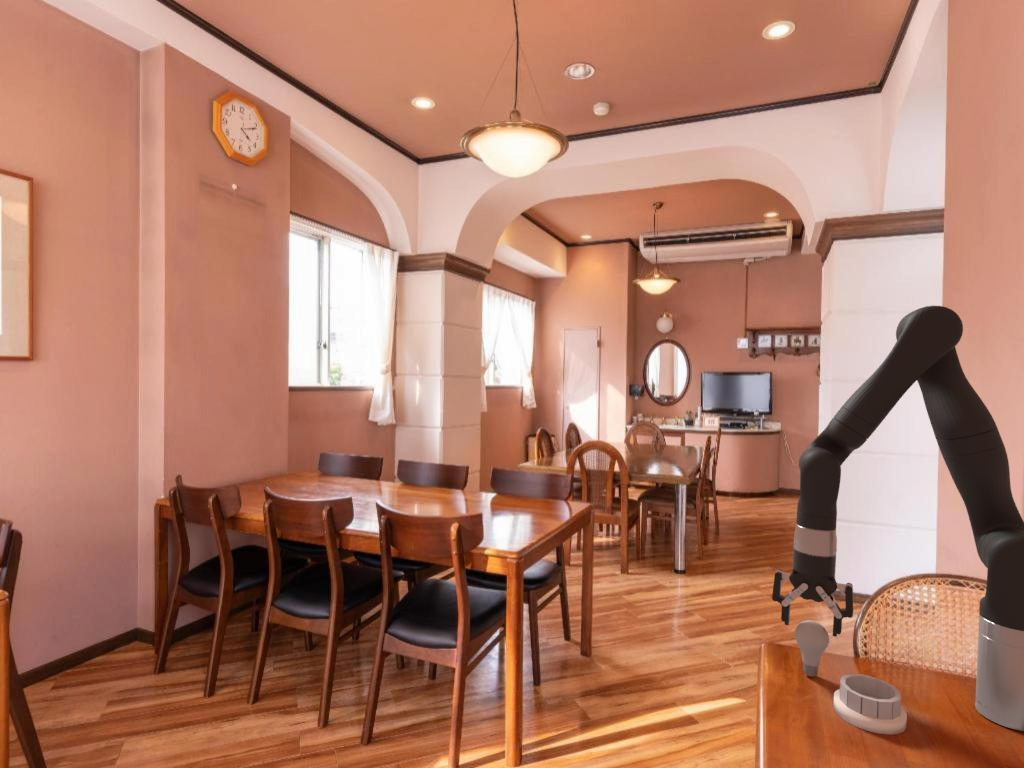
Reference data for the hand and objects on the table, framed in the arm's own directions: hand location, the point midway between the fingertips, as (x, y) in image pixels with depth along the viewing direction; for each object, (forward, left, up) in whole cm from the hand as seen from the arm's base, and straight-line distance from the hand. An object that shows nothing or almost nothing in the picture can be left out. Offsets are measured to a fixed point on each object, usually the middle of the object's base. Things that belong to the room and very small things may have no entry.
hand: (810, 629), depth 117 cm
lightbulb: (0, 0, -10) cm, 10 cm away
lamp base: (-4, +13, -9) cm, 17 cm away
